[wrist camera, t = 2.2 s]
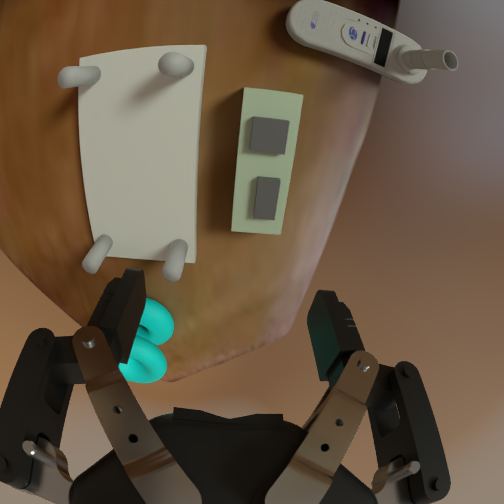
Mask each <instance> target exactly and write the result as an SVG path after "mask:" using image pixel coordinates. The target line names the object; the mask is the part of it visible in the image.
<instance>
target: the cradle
mask: <svg viewBox="0 0 504 504" xmlns="http://www.w3.org/2000/svg"><path fill="white" fill-rule="evenodd" d="M206 51H207V47H206V46H205V45H173V46H157V47H145V48H136V49H128V50H120V51H114V52H108V53H102V54H97V55H92V56H87V57H83V58H80V64H79V66H71V67H65V68H63V69H62V70H61V71H60V73H59V75H58V79H57V82H58V85H59V86H60V87H61V88H64V89H65V88H71V87H78V86H79V88H78V113H79V138H80V152H81V162H82V172H83V180H84V188H85V195H86V201H87V207H88V213H89V219H90V224H91V229H92V234H93V239H94V243H95V244H94V245H93V247H92V248H91V249H90V251H89V252H88V254H87V255H86V257H85V258H84V260H83V261H82V266H83V268H84V270H85V271H87V272H88V273H91V274H94V273H96V272H97V270H98V269H99V267H100V265H101V263H102V262H103V260H104V258H105V257H106V256H109V257H121V258H134V259H146V260H159V261H165V264H164V267H163V270H162V275H163V277H164V278H165V279H166V280H168V281H177V280H179V279H180V278H181V274H182V270H183V266H184V262H187V263H195V260H196V215H197V175H198V151H199V133H200V117H201V103H202V91H203V80H204V70H205V60H206Z"/></svg>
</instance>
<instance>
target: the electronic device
mask: <svg viewBox="0 0 504 504" xmlns="http://www.w3.org/2000/svg"><path fill="white" fill-rule="evenodd" d="M286 29H287V32H288V34H289V35H290V36H291V37H292V39H293V40H294V41H296V42H297V43H299V44H301V45H303V46H305V47H309V48H312V49H315V50H318V51H321V52H325V53H328V54H330V55H333V56H336V57H339V58H342V59H344V60H347V61H350V62H352V63H355V64H357V65H360V66H362V67H365V68H367V69H369V70H372V71H374V72H377V73H378V74H381V75H383V76H385V77H387V78H389V79H391V80H393V81H396V82H400V83H406V84H415V83H418V82H420V81H421V80H422V79H423V78H424V76H425V75H426V73H427V70H434V69H441V70H452V71H454V70H456V69H457V68H458V59H457V57H456V55H455V54H454V53H453V52H452V51H450V50H428V49H421V47H420V46H419V45H418V44H417V43H416V42H414V41H413V40H412V39H410V38H408V37H407V36H405V35H403V34H401V33H399V32H397V31H396V30H393V29H391V28H389V27H387V26H385V25H383V24H381V23H379V22H377V21H375V20H373V19H370V18H368V17H366V16H364V15H361V14H359V13H356V12H354V11H351V10H349V9H346V8H344V7H341V6H338V5H335V4H332V3H329V2H326V1H323V0H301V1H298V2H297V3H295V4H294V5H293V6H292V8H291V9H290V11H289V13H288V15H287V18H286Z"/></svg>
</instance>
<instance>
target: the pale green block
mask: <svg viewBox="0 0 504 504" xmlns="http://www.w3.org/2000/svg"><path fill="white" fill-rule="evenodd" d="M302 101H303V95H300V94H295V93H289V92H282V91H274V90H266V89H257V88H246V87H244V92H243V101H242V111H241V121H240V131H239V142H238V152H237V163H236V175H235V186H234V198H233V211H232V228H231V231H236V232H251V233H264V234H278V235H281V229H282V224H283V218H284V213H285V207H286V201H287V195H288V190H289V184H290V178H291V172H292V166H293V160H294V153H295V147H296V141H297V134H298V128H299V121H300V115H301V108H302Z"/></svg>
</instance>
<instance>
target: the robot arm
mask: <svg viewBox="0 0 504 504" xmlns="http://www.w3.org/2000/svg"><path fill="white" fill-rule="evenodd" d="M145 305H146V289H145V279H144V271H143V270H139V269H132V268H127V269H126V270H125V272H124V274H123V276H122V278H116V277H115V278H114V279H113V280H112V281H111V282H109V283H108V284H107V286H106V288H105V290H104V292H103V294H102V296H101V298H100V301H99V302H98V304H97V306H96V308H95V310H94V312H93V314H92V316H91V318H90V321H89V323H88V325H87V326H85V327H82V328H80V329H79V330H77V331H76V333H75V334H74V335H73V336H63V337H55V336H54V334H53V332H52V331H51V330H49V329H47V328H39V329H36V330H34V331H33V332H32V333H31V334H30V335H29V336H28V338H27V340H26V343H25V345H24V347H23V349H22V351H21V354H20V356H19V358H18V361H17V363H16V366H15V368H14V371H13V373H12V376H11V378H10V381H9V384H8V387H7V389H6V392H5V395H4V398H3V401H2V404H1V408H0V481H1V482H3V483H5V484H8V485H10V486H12V487H13V488H15V489H18V490H21V491H23V492H26V493H29V494H33V495H37V496H39V497H42V498H44V499H46V500H48V501H51V502H53V503H56V504H430V503H433V502H436V501H439V500H441V499H442V498H444V497H445V496H446V495H447V494H448V492H449V490H450V485H451V481H450V475H449V471H448V467H447V462H446V458H445V454H444V450H443V446H442V442H441V439H440V435H439V431H438V428H437V424H436V421H435V418H434V415H433V411H432V408H431V405H430V402H429V399H428V396H427V393H426V391H425V388H424V385H423V382H422V379H421V377H420V374H419V371H418V370H417V368H416V367H415V366H414V365H413V364H411V363H410V362H406V361H401V362H399V363H398V364H397V365H396V366H395V367H389V366H386V365H382V364H379V363H378V361H377V359H376V358H375V357H374V356H373V355H372V354H371V353H369V352H366V351H365V349H364V346H363V343H362V340H361V338H360V335H359V333H358V330H357V327H355V326H356V325H355V322H354V321H353V317H352V315H351V312H350V310H349V309H348V308H347V306H346V305H345V304H344V303H343V302H339V301H338V298H337V296H336V293H335V292H334V291H327V290H318V291H317V293H316V295H315V298H314V300H313V303H312V305H311V308H310V310H309V312H308V316H307V325H308V330H309V334H310V338H311V343H312V347H313V351H314V356H315V360H316V365H317V369H318V374H319V379H320V381H329V385H330V386H329V387H328V388H327V390H326V392H325V393H324V395H323V397H322V398H321V400H320V401H319V403H318V405H317V406H316V408H315V410H314V411H313V413H312V414H311V416H310V417H309V419H308V420H307V421H306V423H305V424H304V425H303V427H302V428H301V427H299V426H298V425H295V424H293V423H290V422H287V421H284V420H283V414H254V415H249V416H244V417H238V418H232V419H227V418H223V417H220V416H216V415H214V414H210V413H207V412H204V411H201V410H193V409H185V408H177V407H174V411H173V413H172V414H165V415H161V416H158V417H155V418H153V419H151V420H149V421H148V419H147V418H146V416H145V414H144V413H143V411H142V409H141V407H140V405H139V404H138V402H137V400H136V398H135V397H134V395H133V393H132V391H131V389H130V387H129V385H128V383H127V381H126V379H125V377H124V376H123V374H122V372H121V371H120V369H119V364H120V363H123V364H128V360H129V357H130V353H131V350H132V346H133V343H134V340H135V337H136V333H137V330H138V327H139V324H140V321H141V318H142V315H143V312H144V309H145ZM74 384H86V390H87V393H88V395H89V398H90V400H91V402H92V405H93V407H94V409H95V412H96V414H97V416H98V418H99V421H100V423H101V425H102V427H103V429H104V431H105V433H106V435H107V437H108V439H109V441H110V443H111V445H112V447H113V450H111V451H110V452H109V453H108V454H106V455H105V456H104V457H103V458H101V459H100V460H99V461H98V462H96V463H95V464H94V465H92V466H91V467H90V468H88V469H87V470H86V471H84V472H83V473H82V474H80V475H79V476H78V477H77V478H76V479H75V480H74V481H73V480H72V479H71V477H70V475H69V472H68V462H67V459H66V457H65V455H64V453H63V452H62V451H61V450H59V447H60V442H61V437H62V431H63V427H64V422H65V417H66V413H67V409H68V405H69V401H70V397H71V393H72V390H73V386H74ZM396 404H397V407H396ZM397 408H398V410H397ZM366 410H368V414H369V419H370V423H371V429H372V434H373V439H374V445H375V450H376V456H377V462H378V468H379V469H378V470H377V471H376V472H375V474H374V477H373V481H372V483H371V485H372V489H370V488H368V487H367V486H366V485H365V484H364V483H363V482H361V481H360V480H359V479H358V478H357V477H355V476H354V475H353V474H352V473H351V472H350V471H349V470H347V469H346V468H345V467H344V466H343V465H342V464H341V461H342V459H343V458H344V456H345V454H346V452H347V450H348V448H349V446H350V444H351V442H352V440H353V438H354V436H355V434H356V432H357V430H358V428H359V425H360V424H361V421H362V419H363V417H364V415H365V413H366ZM398 411H399V414H398ZM399 416H400V418H399Z"/></svg>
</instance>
